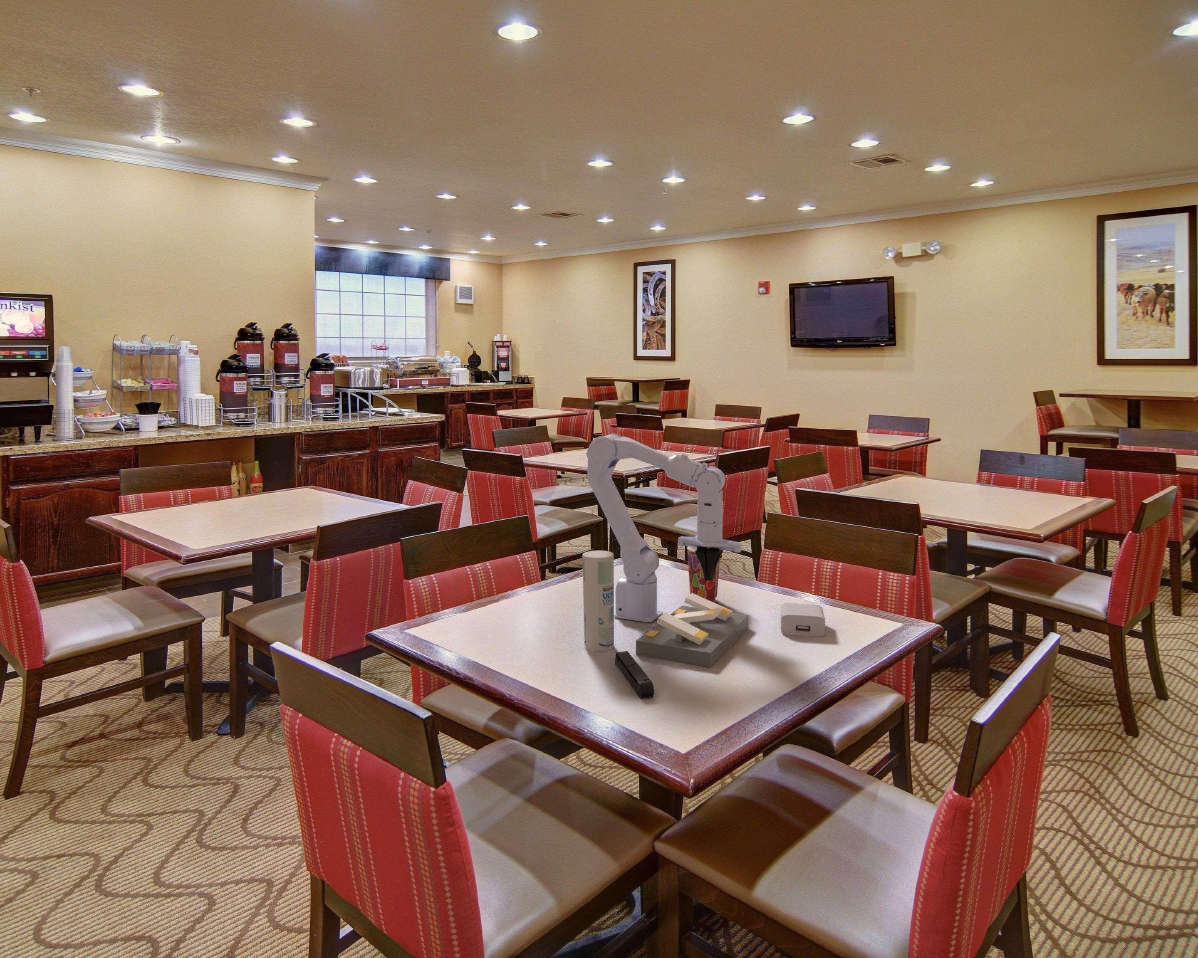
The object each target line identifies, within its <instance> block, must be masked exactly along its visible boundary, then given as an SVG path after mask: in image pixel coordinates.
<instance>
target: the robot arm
mask: <svg viewBox="0 0 1198 958" xmlns="http://www.w3.org/2000/svg"><path fill="white" fill-rule="evenodd" d="M585 455H586V457H587V476H586V477H587V480H588V483H589V485H590V487H591V490H592V491H593V494H594V496H595V497H596V499H597V502H598V504H599V505H600V508H601V510H602V512H603V514H604V516H605V518H606V519H607V522H608V524H609V526H610V528H611V530H612V532H613V535H614V536H615V538H616V540H617V542H618V544H619V546H620V559H621V560H622V561H621V562H622V563H623V573H624V575H625V577H620V578H619V579H618V581H617V582H616V586H615V591H614V596H615V613H614V618H616V619H617V618H618V619H623V620H630V621H637V622H642V623H649V624H650V623H653V622H654V621H655V620H656V619H658V618H659V617H660V616H661V615H663V614H664V611H662V610H658V577H657V575H656V573H655V572H656V571H657V570H658V568H659V565H660V558H659V555H658V554H657V552H656V551H655V550H653V549H652V548H651V547H650V545H649V543H648V541H647V540H645V539H644V538H643V537H642V536H641V535H640V532H639V531H638V529H637V527H636V525H635V523H634V520H633V518H632V517H631V515H630V513H629V511H628V508H627V507H626V505H625V502H624V501H623V498H622V497H621V495H620V492H619V490H618V488H617V486H616V485H615V482H614V481H613V477H612V476H613V473H614V471H615V468H616V465H617V464H618V463H619V462H620V461H621V460H625V459H635V460H638V461H640V462H642V463H645V464H648V465H652V466H653V467H656V468H660V469H661V470H664V472H665V473H666V476H667V478H669V479H670V480H674V481H676V482H678V483H681V484H683V485H686V486H688V487H690V488H695V489H696V491H697V507H696V508H697V511H696V515H697V517H696V518H697V519H696V520H697V521H696V536H697V537H695V536H683V535H681V536H680V537H678V538H677V546H678V547H683V546H685V547H688V546H691V547H697V550H696V551H695V554H696V556H697V558H698V559H699V562H700V564H701V567H702V570H703V574H704V579H705V580H707V581H711V580H712V579H713V576H714V572H715V568H716V565H717V563H718V560H719V558H720V559H721V557H722V554H723V553H724V551H725V552H726V551H729V552H734V553H738V554H739V553H741V552H743V551H742V549H743V548H742V547H743V546H742V543H743V542H741V541H739V542H738V541H734V540H729V539H723V520H724V501H723V496H724V494H723V488H724V486H725V484H726V475H725V474H724V472H723V470H721V469H720V468H718V467H717V466H714V465H711V466H708V463H706V462H702V463H701V462H698V461H696V460H693V459H691V458H689V455H688V454H686V453H682V454H678V453H677V454H673V455H672V456H670V455H667V454H665V453H663V452H661V451H658V450H656V449H654V448H652V447H650V446H648V445H646V444H644V443H641V442H639V441H636V440H635V439H633V438H630V437H627V436H621V435H620V434H617V433H609V434H607V435H604V436H598V437H595V438H594V439H592V441H591V442H590V444H589V446H588V449H587V450H586V453H585Z"/></svg>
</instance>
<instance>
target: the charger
mask: <svg viewBox="0 0 1198 958" xmlns="http://www.w3.org/2000/svg"><path fill="white" fill-rule="evenodd" d="M780 632H781V633H782V635H786V636H788V635H791V636H802V635H803V636H804V637H805V636H807V637H818V636H820V638H822V637H824V636H825V635H826V634H825V633H826V619H825V613H824V608H823V607H822V606H821V605H819V604H815V603H814V604H813V603H796V602H795V603H794V602H786V603H784V602H783V603H782V604H781V605H780ZM803 636H802V637H803Z"/></svg>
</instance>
